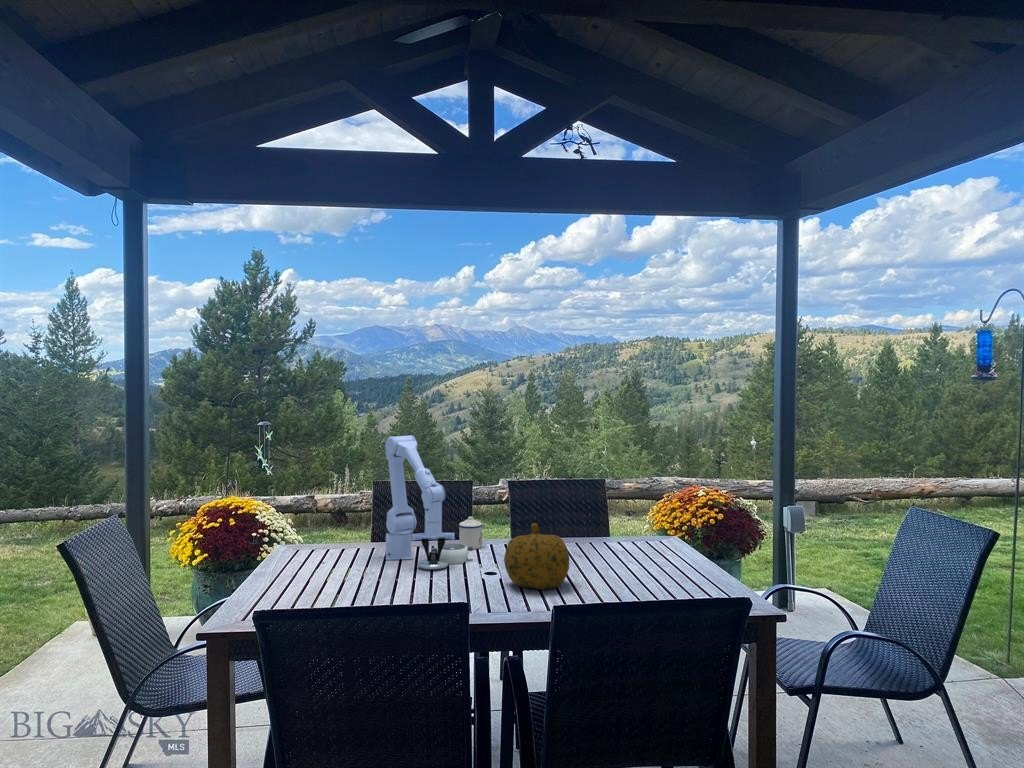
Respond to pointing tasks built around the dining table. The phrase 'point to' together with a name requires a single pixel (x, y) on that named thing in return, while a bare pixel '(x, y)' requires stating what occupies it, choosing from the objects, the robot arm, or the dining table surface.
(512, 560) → the decorative pumpkin
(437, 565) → the lid
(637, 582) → the dining table surface
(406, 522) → the robot arm
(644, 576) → the dining table surface
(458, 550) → the pot
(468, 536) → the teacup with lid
